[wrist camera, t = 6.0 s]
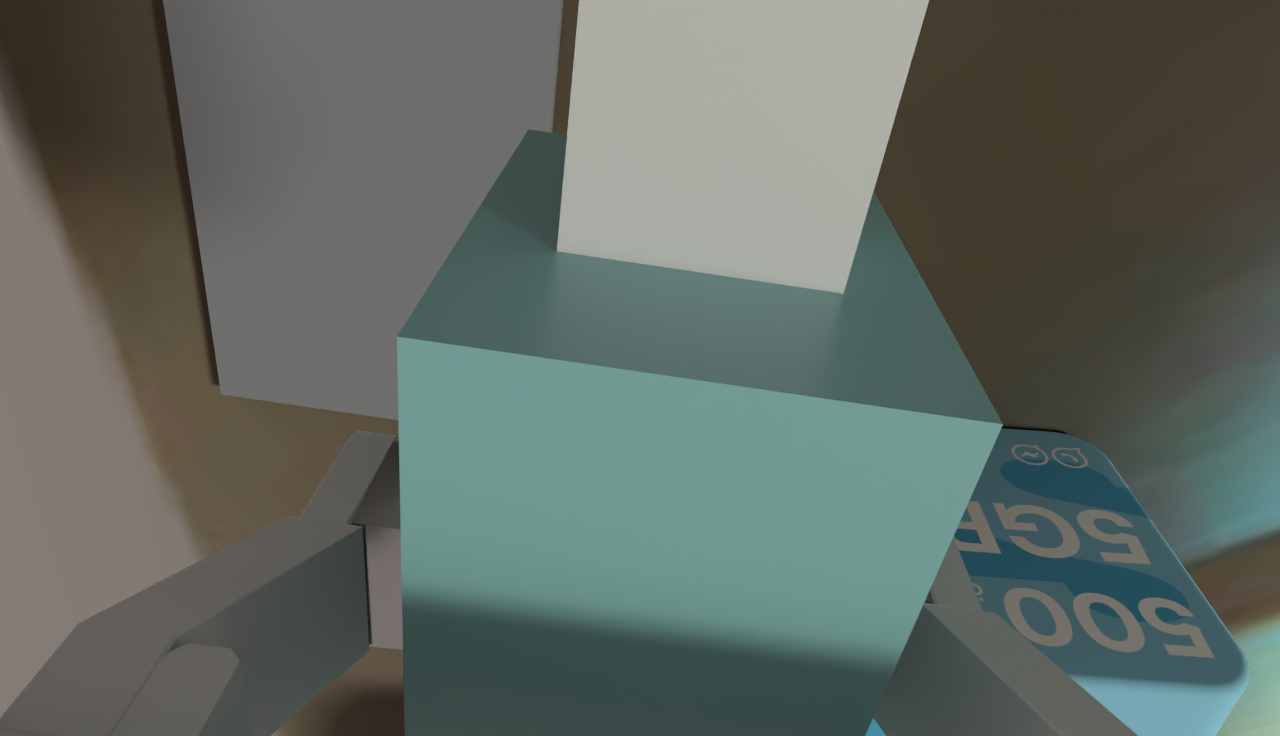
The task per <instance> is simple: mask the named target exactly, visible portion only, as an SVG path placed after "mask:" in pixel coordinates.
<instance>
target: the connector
mask: <svg viewBox="0 0 1280 736" xmlns="http://www.w3.org/2000/svg"><path fill="white" fill-rule="evenodd" d="M928 2H929V0H579V9H578V20H577V31H576V42H575V54H574V65H573V76H572V87H571V98H570V109H569V120H568V132H567V135H563V134H556V133H550V132H543V131H537V130H530V129H528V131H527V133H526V134H525V136H524V137H523V139H522V140H521V142H520V144H519V145H518V147H517V148H516V150H515V151H514V153H513V155H512V156H511V158H510V159H509V161H508V163H507V164H506V166H505V167H504V169H503V170H502V172H501V174H500V175H499V177H498V178H497V180H496V181H495V183H494V185H493V186H492V188H491V189H490V191H489V192H488V194H487V196H486V197H485V199H484V200H483V202H482V203H481V205H480V207H479V208H478V210H477V211H476V213H475V214H474V216H473V218H472V219H471V221H470V222H469V224H468V225H467V227H466V229H465V230H464V232H463V233H462V235H461V237H460V238H459V240H458V241H457V243H456V244H455V246H454V248H453V249H452V251H451V252H450V254H449V255H448V257H447V259H446V260H445V262H444V263H443V265H442V266H441V268H440V270H439V271H438V273H437V274H436V276H435V277H434V279H433V281H432V282H431V284H430V285H429V287H428V288H427V290H426V292H425V293H424V295H423V296H422V298H421V300H420V301H419V303H418V304H417V306H416V307H415V309H414V311H413V312H412V314H411V315H410V317H409V318H408V320H407V322H406V323H405V325H404V326H403V328H402V329H401V331H400V333H399V334H398V336H397V365H398V418H399V470H400V522H401V574H402V627H403V679H404V731H405V736H865V735H866V733H867V731H868V728H869V726H870V724H871V722H872V719H873V717H874V715H875V713H876V710H877V708H878V706H879V704H880V701H881V699H882V697H883V695H884V692H885V690H886V688H887V686H888V683H889V681H890V679H891V676H892V674H893V672H894V670H895V667H896V665H897V663H898V661H899V658H900V656H901V654H902V652H903V649H904V647H905V645H906V643H907V640H908V638H909V636H910V634H911V631H912V629H913V627H914V625H915V622H916V620H917V618H918V615H919V613H920V611H921V609H922V606H923V604H924V602H925V600H926V597H927V595H928V593H929V591H930V588H931V586H932V584H933V582H934V579H935V577H936V575H937V573H938V570H939V568H940V566H941V564H942V561H943V559H944V557H945V554H946V552H947V550H948V548H949V545H950V543H951V541H952V539H953V536H954V534H955V532H956V530H957V527H958V525H959V523H960V521H961V518H962V516H963V514H964V512H965V509H966V507H967V505H968V502H969V500H970V498H971V496H972V493H973V491H974V489H975V487H976V484H977V482H978V480H979V478H980V475H981V473H982V471H983V469H984V466H985V464H986V462H987V460H988V457H989V455H990V453H991V451H992V448H993V446H994V444H995V441H996V439H997V437H998V435H999V432H1000V430H1001V428H1002V426H1003V423H1002V422H1001V420H1000V418H999V416H998V414H997V413H996V411H995V409H994V407H993V405H992V404H991V402H990V400H989V398H988V396H987V395H986V393H985V391H984V389H983V387H982V386H981V384H980V382H979V380H978V378H977V377H976V375H975V373H974V371H973V369H972V368H971V366H970V364H969V362H968V360H967V359H966V357H965V355H964V353H963V351H962V350H961V348H960V346H959V344H958V342H957V341H956V339H955V337H954V335H953V333H952V332H951V330H950V328H949V326H948V324H947V323H946V321H945V319H944V317H943V315H942V314H941V312H940V310H939V308H938V306H937V305H936V303H935V301H934V299H933V297H932V296H931V294H930V292H929V290H928V288H927V287H926V285H925V283H924V281H923V279H922V278H921V276H920V274H919V272H918V270H917V269H916V267H915V265H914V263H913V261H912V260H911V258H910V256H909V254H908V252H907V251H906V249H905V247H904V245H903V243H902V242H901V240H900V238H899V236H898V234H897V233H896V231H895V229H894V227H893V225H892V224H891V222H890V220H889V218H888V216H887V215H886V213H885V211H884V209H883V207H882V206H881V204H880V202H879V200H878V198H877V197H876V195H875V193H874V187H875V184H876V181H877V177H878V174H879V170H880V167H881V163H882V160H883V157H884V153H885V150H886V146H887V143H888V139H889V136H890V133H891V129H892V126H893V122H894V119H895V115H896V112H897V109H898V105H899V102H900V98H901V95H902V91H903V88H904V85H905V81H906V78H907V74H908V71H909V67H910V64H911V61H912V57H913V54H914V50H915V47H916V43H917V40H918V37H919V33H920V30H921V26H922V23H923V19H924V16H925V13H926V9H927V6H928Z"/></svg>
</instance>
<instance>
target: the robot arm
mask: <svg viewBox="0 0 1280 736" xmlns="http://www.w3.org/2000/svg"><path fill="white" fill-rule="evenodd" d="M369 646H373V647H382V648H392V649H401V650H403V627H402V574H401V522H400V470H399V437H396V436H393V435H386V434H379V433H372V432H366V431H359V430H358V431H357V432H355V433H353V434H352V435H351V436H349V438H348V439H347V441H346V443H345V444H344V446H343V447H342V449H341V451H340V452H339V454H338V456H337V457H336V459H335V460H334V462H333V464H332V465H331V467H330V469H329V470H328V472H327V474H326V475H325V477H324V478H323V480H322V482H321V483H320V485H319V487H318V488H317V490H316V491H315V493H314V495H313V496H312V498H311V500H310V501H309V503H308V504H307V506H306V508H305V509H304V511H303V513H302V514H301V516H300V518H299V517H291V516H286V517H284V518H282V519H280V520H278V521H276V522H274V523H272V524H270V525H268V526H266V527H265V528H263V529H261V530H259V531H257V532H255V533H253V534H251V535H249V536H247V537H245V538H243V539H241V540H239V541H237V542H235V543H234V544H232V545H230V546H228V547H226V548H224V549H222V550H220V551H218V552H216V553H214V554H212V555H210V556H208V557H206V558H205V559H203V560H201V561H199V562H197V563H195V564H193V565H191V566H189V567H187V568H185V569H183V570H181V571H179V572H177V573H175V574H174V575H172V576H170V577H168V578H166V579H164V580H162V581H160V582H158V583H156V584H154V585H152V586H150V587H148V588H147V589H145V590H143V591H141V592H139V593H137V594H135V595H133V596H131V597H129V598H127V599H125V600H123V601H121V602H119V603H118V604H116V605H114V606H112V607H110V608H108V609H106V610H104V611H102V612H100V613H98V614H96V615H94V616H92V617H90V618H88V619H87V620H85V621H83V622H81V623H79V624H77V626H76V627H75V628H74V629H73V630H72V632H71V633H70V634H69V635H68V636H67V638H66V639H65V640H64V641H63V642H62V644H61V645H60V646H59V647H58V649H57V650H56V651H55V652H54V653H53V655H52V656H51V657H50V658H49V659H48V661H47V662H46V663H45V664H44V666H43V667H42V668H41V669H40V670H39V672H38V673H37V674H36V675H35V676H34V678H33V679H32V680H31V681H30V683H29V684H28V685H27V686H26V688H25V689H24V690H23V691H22V692H21V694H20V695H19V696H18V697H17V698H16V700H15V701H14V702H13V703H12V704H11V706H10V707H9V708H8V709H7V711H6V712H5V713H4V714H3V716H2V717H1V718H0V736H271V735H272V734H273V733H274V732H275V731H276V730H278V729H279V728H280V727H281V726H282V725H283V724H284V723H286V722H287V721H288V720H289V719H290V718H291V717H293V716H294V715H295V714H296V713H297V712H298V711H300V710H301V709H302V708H303V707H304V706H305V705H307V704H308V703H309V702H310V701H311V700H312V699H314V698H315V697H316V696H317V695H318V694H319V693H320V692H322V691H323V690H324V689H325V688H326V687H327V686H329V685H330V684H331V683H332V682H333V681H334V680H336V679H337V678H338V677H339V676H340V675H341V674H343V673H344V672H345V671H346V670H347V669H348V668H350V667H351V666H352V665H353V664H354V663H355V662H357V661H358V660H359V659H360V658H361V657H362V656H363V655H365V654H366V653H367V652H368V651H369ZM873 718H874V720H875V721H876V722H877V724H878V725H879V726H880V728H881V729H882V731H883V732H884V733H885V735H886V736H1138V735H1137V734H1136V733H1134V732H1133V731H1132V730H1131V729H1130V728H1129V727H1127V726H1126V725H1125V724H1124V723H1123V722H1122V721H1120V720H1119V719H1118V718H1117V717H1116V716H1115V715H1114V714H1112V713H1111V712H1110V711H1109V710H1108V709H1107V708H1105V707H1104V706H1103V705H1102V704H1101V703H1100V702H1098V701H1097V700H1096V699H1095V698H1094V697H1093V696H1091V695H1090V694H1089V693H1088V692H1087V691H1086V690H1085V689H1083V688H1082V687H1081V686H1080V685H1079V684H1078V683H1076V682H1075V681H1074V680H1073V679H1072V678H1071V677H1069V676H1068V675H1067V674H1066V673H1065V672H1064V671H1062V670H1061V669H1060V668H1059V667H1058V666H1057V665H1055V664H1054V663H1053V662H1052V661H1051V660H1050V659H1049V658H1047V657H1046V656H1045V655H1044V654H1043V653H1042V652H1040V651H1039V650H1038V649H1037V648H1036V647H1035V646H1033V645H1032V644H1031V643H1030V642H1029V641H1028V640H1026V639H1025V638H1024V637H1023V636H1022V635H1021V634H1020V633H1018V632H1017V631H1016V630H1015V629H1014V628H1013V627H1011V626H1010V625H1009V624H1008V623H1007V622H1006V621H1004V620H1003V619H1002V618H1001V617H1000V616H999V615H997V614H996V613H993V612H986V611H983V609H982V607H981V604H980V602H979V599H978V597H977V594H976V592H975V589H974V587H973V584H972V582H971V579H970V577H969V574H968V572H967V569H966V567H965V564H964V562H963V559H962V557H961V554H960V552H959V549H958V547H957V545H956V542H955V540H954V537H953V539H952V541H951V543H950V545H949V548H948V550H947V552H946V554H945V557H944V559H943V561H942V564H941V566H940V568H939V570H938V573H937V575H936V577H935V579H934V582H933V584H932V586H931V588H930V591H929V593H928V595H927V597H926V600H925V602H924V604H923V606H922V609H921V611H920V613H919V615H918V618H917V620H916V622H915V625H914V627H913V629H912V631H911V634H910V636H909V638H908V640H907V643H906V645H905V647H904V649H903V652H902V654H901V656H900V658H899V661H898V663H897V665H896V667H895V670H894V672H893V674H892V676H891V679H890V681H889V683H888V686H887V688H886V690H885V692H884V695H883V697H882V699H881V701H880V704H879V706H878V708H877V710H876V713H875V715H874V717H873Z"/></svg>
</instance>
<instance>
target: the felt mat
mask: <svg viewBox="0 0 1280 736" xmlns="http://www.w3.org/2000/svg"><path fill="white" fill-rule="evenodd" d="M163 4H164V11H165V17H166V24H167V31H168V38H169V45H170V51H171V58H172V65H173V72H174V78H175V85H176V92H177V99H178V106H179V112H180V119H181V126H182V133H183V139H184V146H185V153H186V160H187V167H188V173H189V180H190V187H191V194H192V200H193V207H194V214H195V221H196V228H197V234H198V241H199V248H200V255H201V262H202V268H203V275H204V282H205V289H206V295H207V302H208V309H209V316H210V323H211V329H212V336H213V343H214V350H215V356H216V363H217V370H218V377H219V384H220V390H221V394H223V395H230V396H237V397H244V398H250V399H257V400H264V401H271V402H278V403H284V404H291V405H298V406H305V407H312V408H319V409H325V410H332V411H339V412H346V413H353V414H359V415H366V416H373V417H380V418H387V419H394V420H399V418H398V365H397V336H398V334H399V333H400V331H401V329H402V328H403V326H404V325H405V323H406V322H407V320H408V318H409V317H410V315H411V314H412V312H413V311H414V309H415V307H416V306H417V304H418V303H419V301H420V300H421V298H422V296H423V295H424V293H425V292H426V290H427V288H428V287H429V285H430V284H431V282H432V281H433V279H434V277H435V276H436V274H437V273H438V271H439V270H440V268H441V266H442V265H443V263H444V262H445V260H446V259H447V257H448V255H449V254H450V252H451V251H452V249H453V248H454V246H455V244H456V243H457V241H458V240H459V238H460V237H461V235H462V233H463V232H464V230H465V229H466V227H467V225H468V224H469V222H470V221H471V219H472V218H473V216H474V214H475V213H476V211H477V210H478V208H479V207H480V205H481V203H482V202H483V200H484V199H485V197H486V196H487V194H488V192H489V191H490V189H491V188H492V186H493V185H494V183H495V181H496V180H497V178H498V177H499V175H500V174H501V172H502V170H503V169H504V167H505V166H506V164H507V163H508V161H509V159H510V158H511V156H512V155H513V153H514V151H515V150H516V148H517V147H518V145H519V144H520V142H521V140H522V139H523V137H524V136H525V134H526V133H527V131H528V129H530V130H537V131H543V132H550V133H552V128H553V116H554V105H555V93H556V81H557V69H558V58H559V46H560V34H561V22H562V10H563V0H163Z"/></svg>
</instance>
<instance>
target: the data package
mask: <svg viewBox="0 0 1280 736" xmlns="http://www.w3.org/2000/svg"><path fill="white" fill-rule="evenodd" d="M953 537H954V540H955V542H956V545H957V547H958V549H959V552H960V554H961V557H962V559H963V562H964V564H965V567H966V569H967V572H968V574H969V577H970V579H971V582H972V584H973V587H974V589H975V592H976V594H977V597H978V599H979V602H980V604H981V607H982V609H983V611H986V612H993V613H996V614H997V615H999V616H1000V617H1001V618H1002V619H1003V620H1004V621H1006V622H1007V623H1008V624H1009V625H1010V626H1011V627H1013V628H1014V629H1015V630H1016V631H1017V632H1018V633H1020V634H1021V635H1022V636H1023V637H1024V638H1025V639H1026V640H1028V641H1029V642H1030V643H1031V644H1032V645H1033V646H1035V647H1036V648H1037V649H1038V650H1039V651H1040V652H1042V653H1043V654H1044V655H1045V656H1046V657H1047V658H1049V659H1050V660H1051V661H1052V662H1053V663H1054V664H1055V665H1057V666H1058V667H1059V668H1060V669H1061V670H1062V671H1064V672H1065V673H1066V674H1067V675H1068V676H1069V677H1071V678H1072V679H1073V680H1074V681H1075V682H1076V683H1078V684H1079V685H1080V686H1081V687H1082V688H1083V689H1085V690H1086V691H1087V692H1088V693H1089V694H1090V695H1091V696H1093V697H1094V698H1095V699H1096V700H1097V701H1098V702H1100V703H1101V704H1102V705H1103V706H1104V707H1105V708H1107V709H1108V710H1109V711H1110V712H1111V713H1112V714H1114V715H1115V716H1116V717H1117V718H1118V719H1119V720H1120V721H1122V722H1123V723H1124V724H1125V725H1126V726H1127V727H1129V728H1130V729H1131V730H1132V731H1133V732H1134V733H1136V734H1137V735H1138V736H1215V735H1216V734H1217V732H1218V731H1219V729H1220V727H1221V726H1222V724H1223V723H1224V721H1225V720H1226V718H1227V717H1228V715H1229V714H1230V712H1231V710H1232V709H1233V707H1234V706H1235V704H1236V703H1237V701H1238V700H1239V698H1240V697H1241V695H1242V694H1243V692H1244V690H1245V689H1246V687H1247V685H1248V683H1249V678H1250V670H1249V665H1248V661H1247V659H1246V657H1245V655H1244V653H1243V651H1242V650H1241V648H1240V647H1239V645H1238V644H1237V642H1236V641H1235V640H1234V638H1233V637H1232V635H1231V634H1230V632H1229V631H1228V630H1227V628H1226V627H1225V625H1224V624H1223V622H1222V621H1221V619H1220V618H1219V617H1218V615H1217V614H1216V612H1215V611H1214V609H1213V608H1212V607H1211V605H1210V604H1209V602H1208V601H1207V599H1206V598H1205V597H1204V595H1203V594H1202V592H1201V591H1200V589H1199V588H1198V586H1197V585H1196V584H1195V582H1194V581H1193V579H1192V578H1191V576H1190V575H1189V574H1188V572H1187V571H1186V569H1185V568H1184V566H1183V565H1182V563H1181V562H1180V561H1179V559H1178V558H1177V556H1176V555H1175V553H1174V552H1173V551H1172V549H1171V548H1170V546H1169V545H1168V543H1167V542H1166V541H1165V539H1164V538H1163V536H1162V535H1161V533H1160V532H1159V530H1158V529H1157V528H1156V526H1155V525H1154V523H1153V522H1152V520H1151V519H1150V518H1149V516H1148V515H1147V513H1146V512H1145V510H1144V509H1143V507H1142V506H1141V505H1140V503H1139V502H1138V500H1137V499H1136V497H1135V496H1134V495H1133V493H1132V492H1131V490H1130V489H1129V487H1128V486H1127V485H1126V483H1125V482H1124V480H1123V479H1122V477H1121V476H1120V474H1119V473H1118V472H1117V470H1116V469H1115V467H1114V466H1113V464H1112V463H1111V462H1110V460H1109V459H1108V458H1107V456H1106V455H1105V454H1104V453H1102V452H1101V451H1100V450H1099V449H1097V448H1096V447H1094V446H1093V445H1091V444H1089V443H1087V442H1086V441H1083V440H1081V439H1079V438H1076V437H1073V436H1070V435H1067V434H1063V433H1057V432H1047V431H1033V430H1019V429H1005V428H1001V430H1000V432H999V435H998V437H997V439H996V441H995V444H994V446H993V448H992V451H991V453H990V455H989V457H988V460H987V462H986V464H985V466H984V469H983V471H982V473H981V475H980V478H979V480H978V482H977V484H976V487H975V489H974V491H973V493H972V496H971V498H970V500H969V502H968V505H967V507H966V509H965V512H964V514H963V516H962V518H961V521H960V523H959V525H958V527H957V530H956V532H955V534H954V536H953ZM865 736H886V735H885V733H884V732H883V731H882V729H881V728H880V726H879V725H878V724H877V722H876V721H875V720H874V718H873V719H872V722H871V724H870V726H869V728H868V731H867V733H866V735H865Z"/></svg>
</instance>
